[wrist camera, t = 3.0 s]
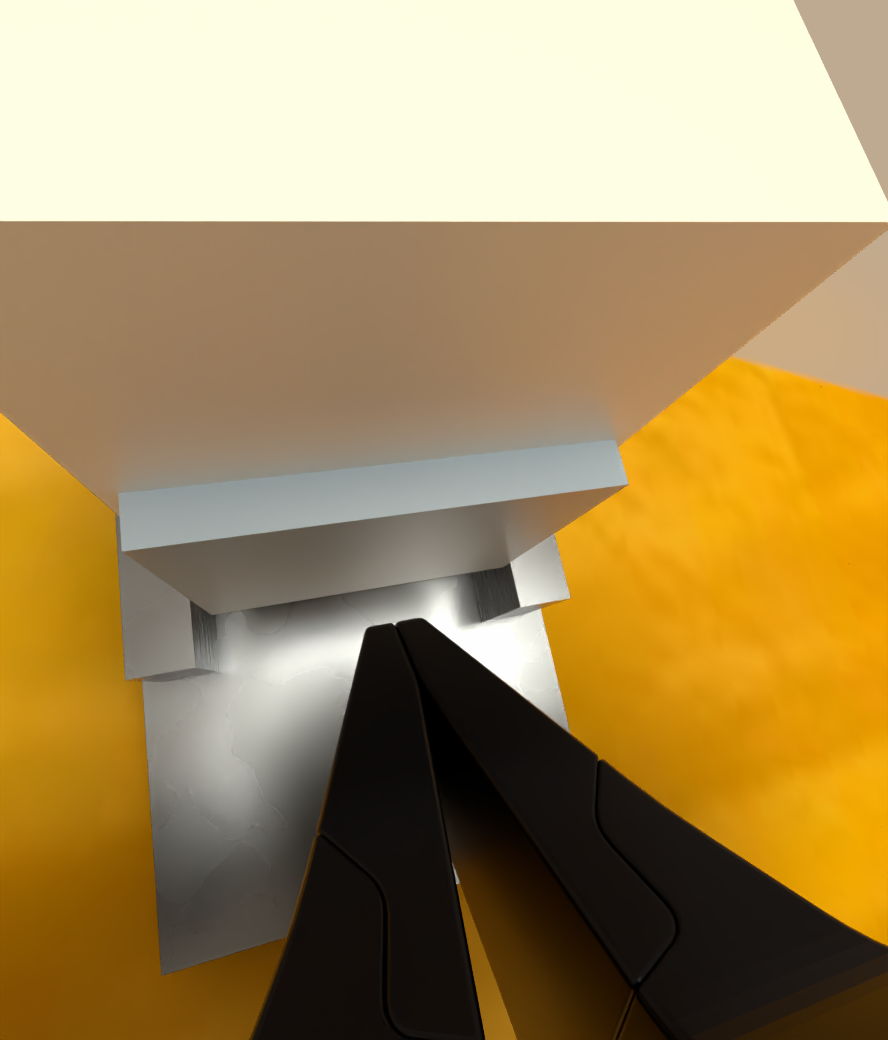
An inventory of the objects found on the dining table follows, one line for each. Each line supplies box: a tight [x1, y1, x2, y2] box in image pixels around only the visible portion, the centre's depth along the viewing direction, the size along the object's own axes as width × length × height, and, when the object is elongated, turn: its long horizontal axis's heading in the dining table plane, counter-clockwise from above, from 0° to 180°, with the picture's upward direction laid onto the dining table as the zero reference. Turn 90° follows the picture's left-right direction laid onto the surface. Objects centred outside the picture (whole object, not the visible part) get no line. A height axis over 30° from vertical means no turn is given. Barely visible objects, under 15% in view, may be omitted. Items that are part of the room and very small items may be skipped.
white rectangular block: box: [0, 0, 888, 615], centre depth 9 cm, size 4×6×12 cm
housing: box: [115, 513, 570, 975], centre depth 14 cm, size 14×10×4 cm
